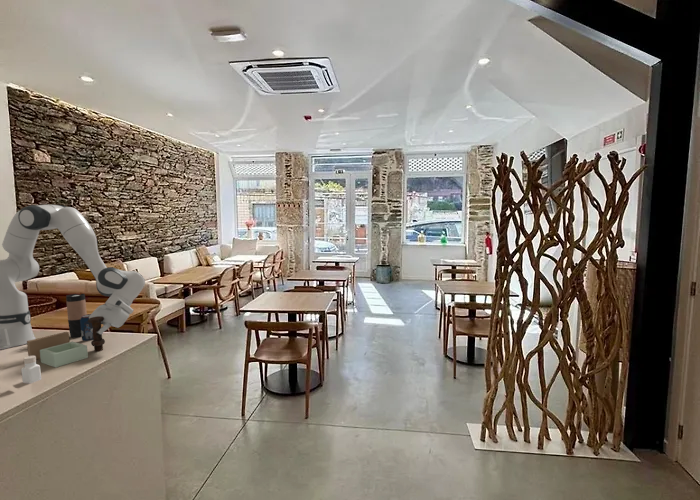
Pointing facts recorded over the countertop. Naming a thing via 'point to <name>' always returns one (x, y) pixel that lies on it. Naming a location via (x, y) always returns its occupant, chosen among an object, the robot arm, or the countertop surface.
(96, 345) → the bolt
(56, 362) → the socket block
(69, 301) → the travel mug
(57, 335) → the backstop board
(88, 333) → the soda can
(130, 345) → the countertop surface
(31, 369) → the pepper shaker
